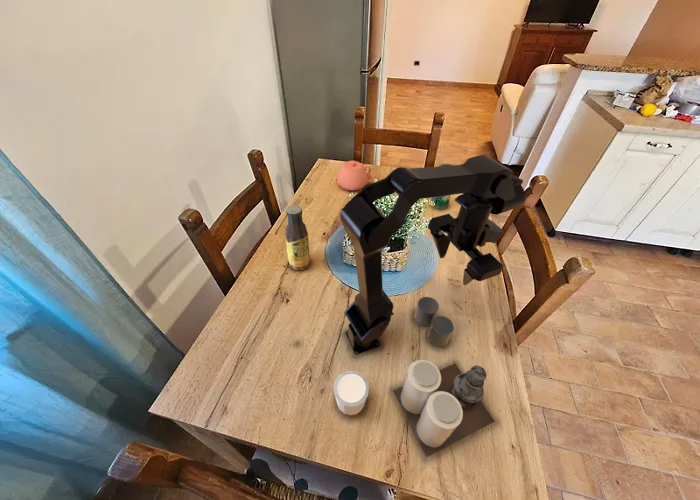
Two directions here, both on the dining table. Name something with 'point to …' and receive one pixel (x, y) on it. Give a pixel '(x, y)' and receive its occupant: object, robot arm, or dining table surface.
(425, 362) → the white shaker back
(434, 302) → the grey jar
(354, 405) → the white candle jar
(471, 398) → the grey chess piece
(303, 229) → the sauce bottle
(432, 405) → the white shaker front
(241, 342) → the dining table surface
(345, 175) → the sugar bowl
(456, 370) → the walnut board
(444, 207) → the can
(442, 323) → the grey jar
